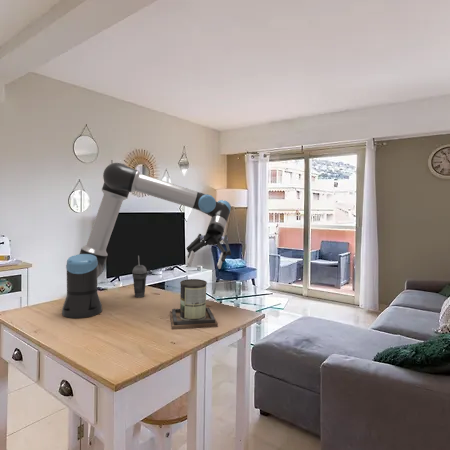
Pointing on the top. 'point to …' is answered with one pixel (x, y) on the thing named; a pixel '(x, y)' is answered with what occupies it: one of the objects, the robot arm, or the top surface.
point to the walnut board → (183, 324)
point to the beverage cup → (139, 279)
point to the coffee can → (193, 299)
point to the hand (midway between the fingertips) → (203, 265)
